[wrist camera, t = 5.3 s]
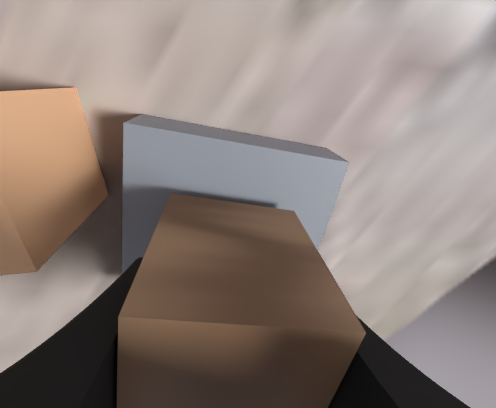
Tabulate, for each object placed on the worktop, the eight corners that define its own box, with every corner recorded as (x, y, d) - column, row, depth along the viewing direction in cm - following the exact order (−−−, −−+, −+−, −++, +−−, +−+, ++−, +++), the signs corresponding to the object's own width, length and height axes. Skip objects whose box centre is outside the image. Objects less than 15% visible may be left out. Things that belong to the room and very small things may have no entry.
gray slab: (137, 269, 16) (121, 307, 13) (143, 113, 12) (123, 122, 10) (282, 282, 18) (293, 318, 15) (323, 146, 14) (349, 162, 11)
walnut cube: (160, 293, 12) (115, 463, 7) (170, 193, 10) (118, 316, 5) (266, 302, 13) (301, 458, 8) (293, 210, 11) (366, 333, 6)
